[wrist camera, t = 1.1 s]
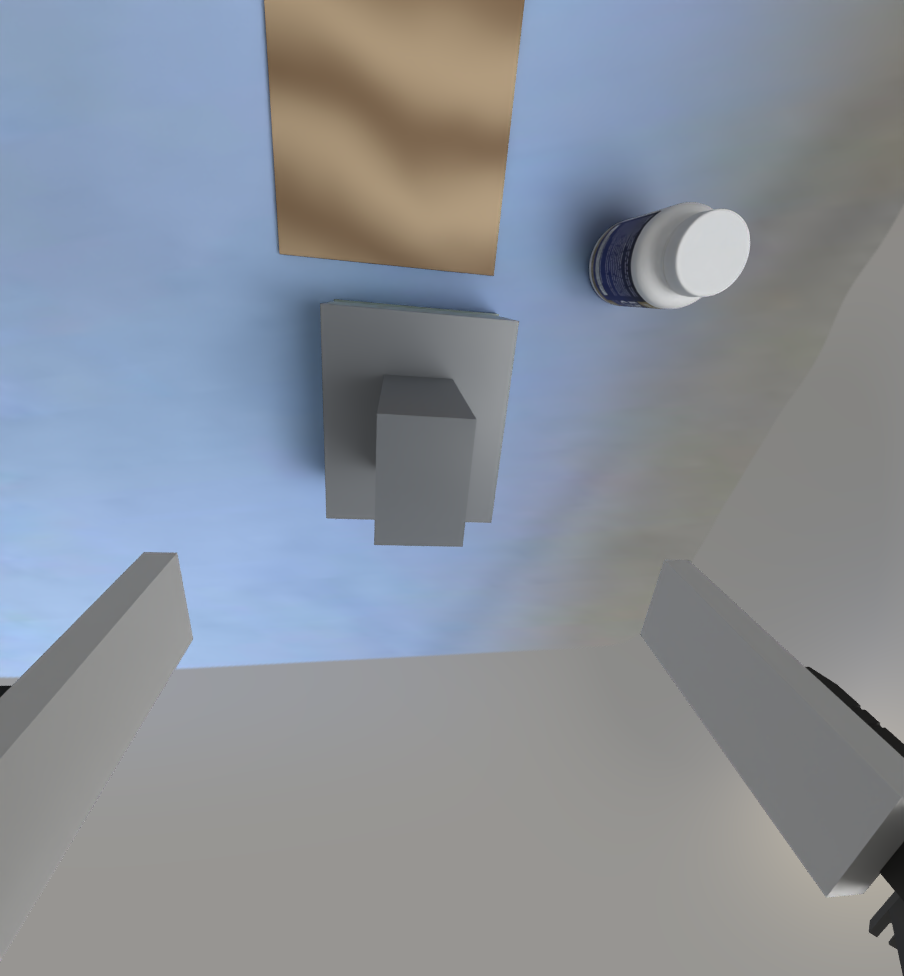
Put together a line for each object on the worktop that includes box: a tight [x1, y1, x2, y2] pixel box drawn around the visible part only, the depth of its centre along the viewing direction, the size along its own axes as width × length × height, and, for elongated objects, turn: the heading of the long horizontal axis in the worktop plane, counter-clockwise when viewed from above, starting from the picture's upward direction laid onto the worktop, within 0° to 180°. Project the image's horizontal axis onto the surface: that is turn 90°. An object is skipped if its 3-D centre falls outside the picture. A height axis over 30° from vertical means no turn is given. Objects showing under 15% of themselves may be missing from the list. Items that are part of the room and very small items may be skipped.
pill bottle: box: [589, 202, 750, 309], centre depth 27 cm, size 5×5×10 cm
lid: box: [320, 303, 519, 547], centre depth 23 cm, size 13×11×10 cm
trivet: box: [264, 0, 525, 276], centre depth 26 cm, size 16×14×1 cm
